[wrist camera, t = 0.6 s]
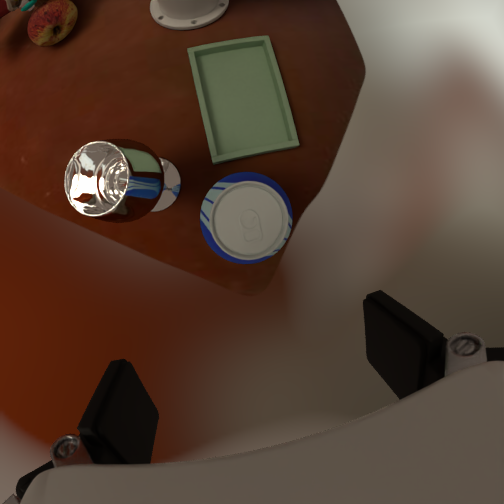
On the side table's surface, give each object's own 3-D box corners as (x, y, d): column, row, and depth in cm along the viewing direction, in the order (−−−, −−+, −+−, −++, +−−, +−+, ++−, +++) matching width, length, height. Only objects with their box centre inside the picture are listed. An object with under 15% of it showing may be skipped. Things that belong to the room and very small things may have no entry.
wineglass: (174, 218, 38) (132, 243, 19) (122, 206, 37) (45, 221, 18) (188, 162, 37) (157, 133, 18) (135, 152, 36) (66, 120, 16)
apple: (55, -19, 19) (66, 1, 20) (78, 3, 28) (92, 25, 29) (15, 19, 20) (21, 44, 21) (41, 36, 29) (52, 61, 30)
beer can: (196, 223, 39) (181, 244, 23) (223, 168, 38) (226, 152, 22) (250, 250, 40) (270, 286, 25) (278, 196, 39) (316, 199, 24)
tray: (188, 55, 34) (187, 48, 31) (265, 42, 34) (268, 35, 32) (213, 164, 37) (212, 163, 35) (294, 147, 38) (299, 145, 36)
